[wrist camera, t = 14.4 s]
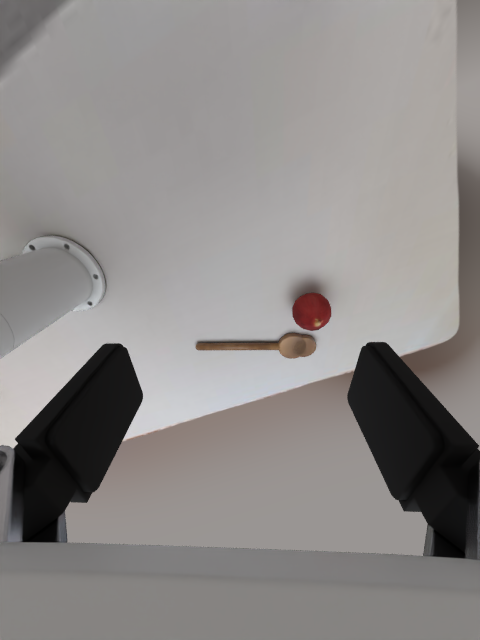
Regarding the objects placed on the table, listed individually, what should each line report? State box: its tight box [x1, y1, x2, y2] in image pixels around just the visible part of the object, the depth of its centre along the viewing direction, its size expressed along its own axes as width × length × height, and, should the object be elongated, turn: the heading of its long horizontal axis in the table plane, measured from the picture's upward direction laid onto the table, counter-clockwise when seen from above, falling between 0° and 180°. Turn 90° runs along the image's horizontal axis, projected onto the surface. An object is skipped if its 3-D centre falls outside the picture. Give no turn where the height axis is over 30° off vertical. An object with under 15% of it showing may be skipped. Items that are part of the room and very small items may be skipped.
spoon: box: [196, 333, 316, 358], centre depth 43 cm, size 23×5×1 cm, turn 92°
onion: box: [292, 293, 331, 331], centre depth 35 cm, size 6×6×8 cm
